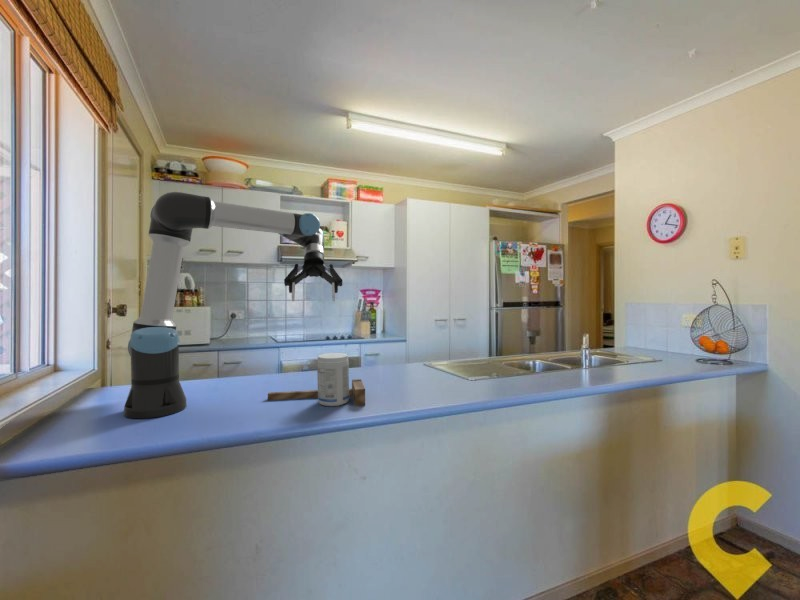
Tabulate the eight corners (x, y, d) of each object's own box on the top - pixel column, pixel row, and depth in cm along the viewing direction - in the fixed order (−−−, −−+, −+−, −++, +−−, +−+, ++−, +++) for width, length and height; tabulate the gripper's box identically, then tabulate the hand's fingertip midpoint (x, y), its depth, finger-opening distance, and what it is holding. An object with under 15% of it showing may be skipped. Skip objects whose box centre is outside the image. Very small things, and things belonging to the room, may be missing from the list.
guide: (262, 411, 110) (262, 394, 109) (268, 398, 122) (268, 383, 122) (366, 405, 115) (366, 388, 115) (362, 393, 128) (362, 379, 128)
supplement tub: (339, 396, 125) (339, 351, 125) (355, 403, 118) (354, 355, 117) (312, 401, 119) (311, 354, 119) (326, 409, 112) (326, 359, 111)
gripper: (346, 265, 151) (349, 305, 137) (280, 264, 146) (276, 306, 132) (347, 251, 146) (350, 290, 131) (279, 249, 141) (274, 290, 126)
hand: (313, 298), depth 132 cm, fingers open, 13 cm apart
